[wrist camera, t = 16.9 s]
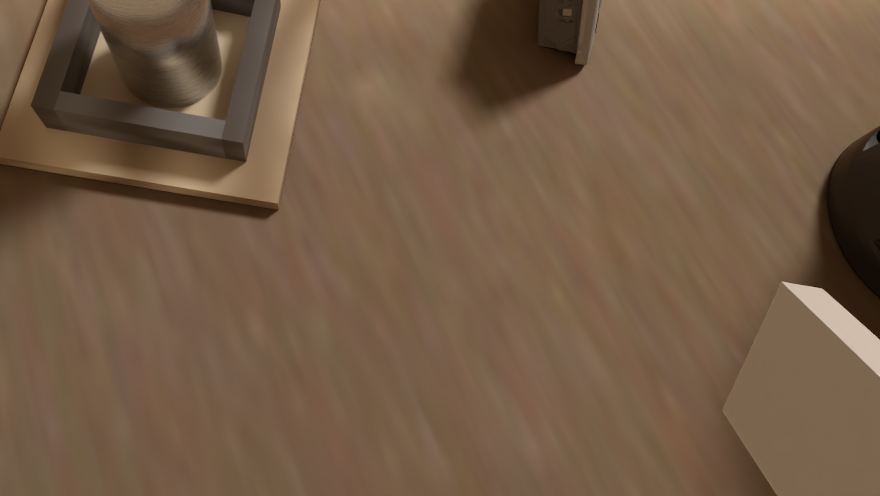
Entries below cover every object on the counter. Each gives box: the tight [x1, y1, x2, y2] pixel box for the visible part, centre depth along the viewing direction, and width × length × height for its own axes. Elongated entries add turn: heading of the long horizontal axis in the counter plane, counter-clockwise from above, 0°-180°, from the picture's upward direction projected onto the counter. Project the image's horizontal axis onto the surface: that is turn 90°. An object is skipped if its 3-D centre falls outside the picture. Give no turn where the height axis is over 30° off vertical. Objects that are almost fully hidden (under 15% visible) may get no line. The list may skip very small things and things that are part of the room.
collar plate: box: [0, 0, 320, 210], centre depth 43 cm, size 16×16×4 cm
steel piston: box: [88, 0, 222, 108], centre depth 38 cm, size 6×6×12 cm
